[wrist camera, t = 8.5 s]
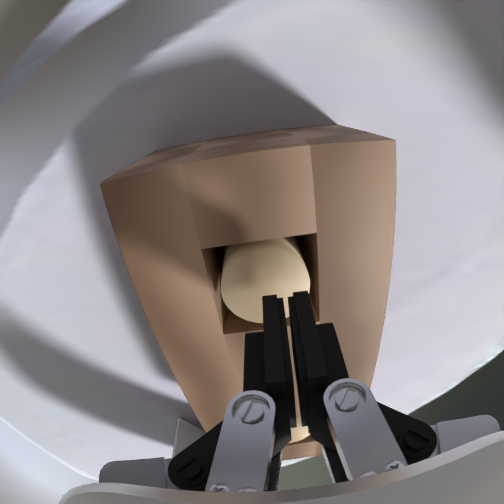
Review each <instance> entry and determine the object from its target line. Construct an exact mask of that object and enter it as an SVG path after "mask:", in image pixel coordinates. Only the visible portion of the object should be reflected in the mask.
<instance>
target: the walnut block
mask: <svg viewBox="0 0 504 504" xmlns="http://www.w3.org/2000/svg"><path fill="white" fill-rule="evenodd" d="M100 186H101V190H102V193H103V197H104V200H105V204H106V207H107V210H108V213H109V217H110V220H111V223H112V226H113V229H114V232H115V235H116V238H117V241H118V244H119V247H120V250H121V253H122V256H123V258H124V261H125V264H126V267H127V269H128V272H129V275H130V277H131V280H132V282H133V285H134V288H135V290H136V293H137V295H138V297H139V300H140V302H141V305H142V307H143V310H144V312H145V314H146V317H147V319H148V321H149V323H150V326H151V328H152V330H153V332H154V335H155V337H156V339H157V341H158V343H159V345H160V348H161V350H162V352H163V354H164V356H165V358H166V360H167V362H168V364H169V366H170V368H171V370H172V372H173V374H174V376H175V378H176V380H177V382H178V384H179V386H180V388H181V389H182V391H183V393H184V395H185V397H186V399H187V401H188V402H189V404H190V406H191V408H192V410H193V411H194V413H195V415H196V417H197V418H198V420H199V422H200V423H201V425H202V427H203V429H204V430H205V432H206V433H207V432H208V431H209V430H211V429H212V428H213V427H215V426H216V425H217V424H218V423H220V422H221V421H222V420H223V419H224V416H225V412H226V408H227V406H228V404H229V402H230V401H231V400H232V398H233V397H235V396H236V395H238V394H239V393H242V392H243V377H244V346H245V333H250V332H260V331H263V323H256V322H251V321H247V320H244V319H242V318H240V317H238V316H237V315H235V314H234V313H233V312H232V311H231V310H230V309H229V308H228V307H227V306H226V304H225V302H224V300H223V298H222V294H221V279H222V271H223V262H224V254H225V246H226V245H233V244H240V243H247V242H254V241H261V240H268V239H276V238H283V237H290V236H295V238H296V240H297V243H298V246H299V249H300V252H301V254H302V257H303V260H304V263H305V266H306V269H307V271H308V274H309V278H310V291H309V298H310V302H311V305H312V309H313V313H314V317H315V321H316V324H323V323H330V322H332V323H333V325H334V328H335V331H336V334H337V337H338V341H339V344H340V347H341V351H342V354H343V358H344V361H345V365H346V368H347V371H348V375H349V378H352V379H357V380H360V381H362V382H363V383H365V384H366V385H367V386H368V388H369V389H370V387H371V383H372V379H373V374H374V370H375V366H376V361H377V356H378V351H379V346H380V341H381V336H382V330H383V325H384V319H385V313H386V306H387V299H388V292H389V284H390V276H391V267H392V256H393V245H394V231H395V212H396V140H393V139H390V138H387V137H383V136H380V135H376V134H372V133H369V132H365V131H361V130H357V129H353V128H349V127H345V126H341V125H328V126H314V127H302V128H292V129H283V130H274V131H266V132H258V133H251V134H244V135H237V136H231V137H225V138H219V139H213V140H208V141H203V142H197V143H192V144H187V145H182V146H178V147H173V148H169V149H164V150H160V151H156V152H153V153H151V154H149V155H147V156H145V157H144V158H142V159H140V160H138V161H136V162H135V163H133V164H131V165H130V166H128V167H126V168H124V169H123V170H121V171H119V172H118V173H116V174H114V175H113V176H111V177H110V178H108V179H106V180H105V181H103V182H102V183H100ZM286 324H287V331H288V339H289V347H290V355H291V363H292V372H293V381H294V393H295V407H296V418H299V417H301V416H300V407H299V399H298V391H297V383H296V375H295V367H294V359H293V351H292V340H291V329H290V317H287V318H286ZM322 454H323V452H322V449H321V445H320V443H319V442H317V441H315V440H314V439H312V438H311V437H310V435H309V436H307V437H306V438H304V439H302V440H300V441H297V442H293V443H288V444H287V445H286V446H285V447H284V448H283V453H282V460H290V459H297V458H304V457H310V456H316V455H322Z"/></svg>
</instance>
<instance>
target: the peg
mask: <svg viewBox="0 0 504 504" xmlns="http://www.w3.org/2000/svg"><path fill="white" fill-rule="evenodd" d="M306 290H307V291H308V294H309V291H310V278H309V274H308V271H307V269H306V266H305V263H304V260H303V257H302V254H301V252H300V249H299V246H298V243H297V240H296V238H295V236H290V237H283V238H276V239H268V240H261V241H254V242H247V243H240V244H233V245H226V246H225V254H224V262H223V271H222V279H221V294H222V298H223V300H224V302H225V304H226V306H227V307H228V308H229V309H230V310H231V311H232V312H233V313H234V314H235V315H237V316H238V317H240V318H242V319H244V320H247V321H251V322H256V323H263V305H262V296H267V295H275V294H277V298H283V301H284V309H285V316H286V318H287V317H289V307H288V297H291V296H293V292H299V291H306Z"/></svg>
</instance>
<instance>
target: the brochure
mask: <svg viewBox="0 0 504 504" xmlns="http://www.w3.org/2000/svg"><path fill="white" fill-rule="evenodd" d="M205 433H206V432H205V431H204V430H202V429H200V428H198V427H196V426H195V425H193V424H191V423H189V422H187V421H185V420H184V419H182V418H178V421H177V427H176V434H175V441H174V448H173V455H172V458H174V457H175V456H176V455H177V454H178V453H180V452H181V451H182V450H184V449H185V448H187V447H188V446H189V445H191V444H192V443H193V442H195V441H196V440H198V439H199V438H200V437H202V436H203V435H204V434H205Z"/></svg>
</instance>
